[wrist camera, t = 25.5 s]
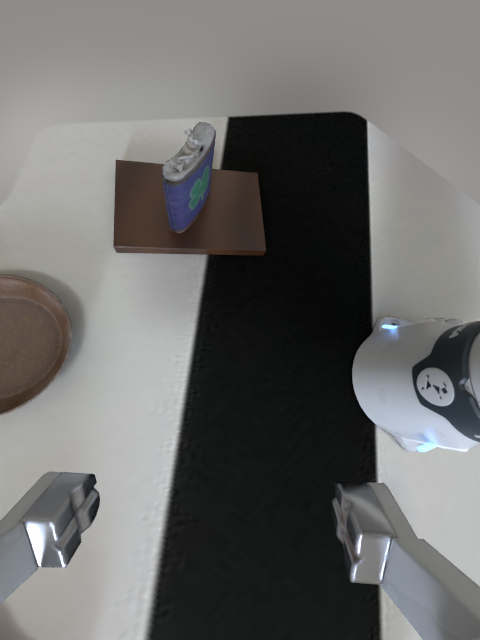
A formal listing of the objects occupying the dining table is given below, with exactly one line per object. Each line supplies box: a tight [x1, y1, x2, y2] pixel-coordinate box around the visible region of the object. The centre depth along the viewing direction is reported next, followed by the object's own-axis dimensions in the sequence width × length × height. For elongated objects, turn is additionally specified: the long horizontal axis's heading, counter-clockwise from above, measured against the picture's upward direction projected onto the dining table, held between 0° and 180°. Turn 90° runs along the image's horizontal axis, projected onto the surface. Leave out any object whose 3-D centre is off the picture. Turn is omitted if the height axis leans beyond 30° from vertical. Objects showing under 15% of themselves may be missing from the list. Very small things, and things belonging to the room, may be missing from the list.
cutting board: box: [114, 160, 266, 255], centre depth 35 cm, size 20×13×2 cm, turn 95°
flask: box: [161, 122, 216, 233], centre depth 29 cm, size 9×3×11 cm, turn 154°
